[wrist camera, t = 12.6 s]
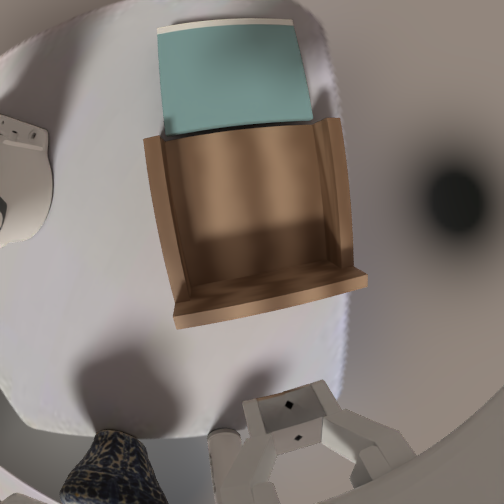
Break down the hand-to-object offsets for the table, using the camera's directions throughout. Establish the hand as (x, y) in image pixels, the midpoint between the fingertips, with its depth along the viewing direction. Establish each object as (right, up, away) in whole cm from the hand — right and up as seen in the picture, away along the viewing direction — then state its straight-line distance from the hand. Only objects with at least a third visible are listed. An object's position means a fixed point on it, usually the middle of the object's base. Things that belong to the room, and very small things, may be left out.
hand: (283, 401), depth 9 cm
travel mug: (-6, -29, +34) cm, 45 cm away
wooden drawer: (-2, +11, +24) cm, 27 cm away
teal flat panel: (-2, +19, +19) cm, 27 cm away
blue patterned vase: (-27, -33, +31) cm, 53 cm away
